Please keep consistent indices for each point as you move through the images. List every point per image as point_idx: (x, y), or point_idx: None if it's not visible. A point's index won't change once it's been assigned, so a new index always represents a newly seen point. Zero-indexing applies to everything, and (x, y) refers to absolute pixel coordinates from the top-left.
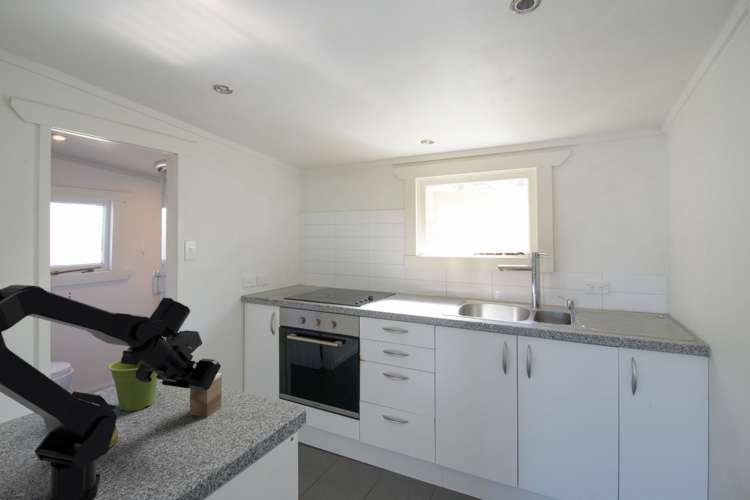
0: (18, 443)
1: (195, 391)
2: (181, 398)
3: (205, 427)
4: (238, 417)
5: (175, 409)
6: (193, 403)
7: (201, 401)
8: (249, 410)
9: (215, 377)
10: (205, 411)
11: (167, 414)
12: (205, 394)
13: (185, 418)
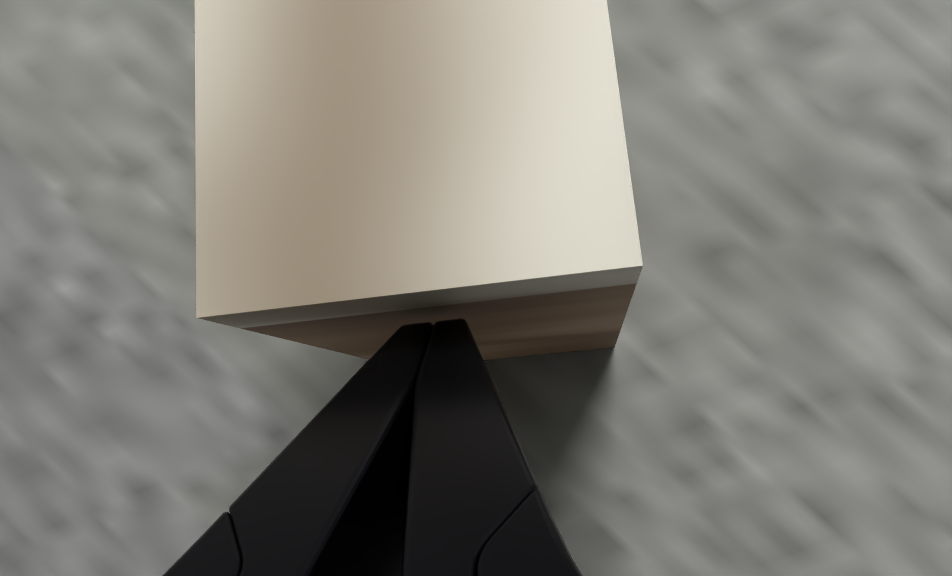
0: None
1: None
2: (82, 158)
3: (778, 518)
4: (930, 220)
5: (199, 342)
6: None
7: (528, 336)
8: (911, 58)
9: (607, 39)
10: (593, 342)
11: (209, 447)
12: (589, 315)
13: None
